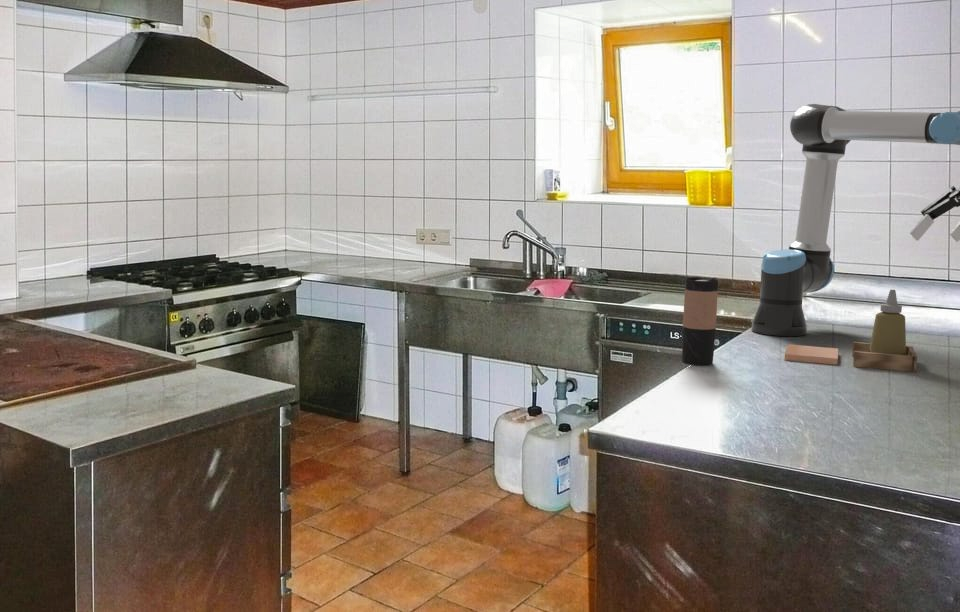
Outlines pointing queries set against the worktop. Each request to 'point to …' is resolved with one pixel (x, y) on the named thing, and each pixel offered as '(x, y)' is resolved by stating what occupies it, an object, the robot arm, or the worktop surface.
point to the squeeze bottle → (889, 328)
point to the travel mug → (699, 321)
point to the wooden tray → (883, 358)
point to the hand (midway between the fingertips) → (933, 237)
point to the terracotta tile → (811, 354)
